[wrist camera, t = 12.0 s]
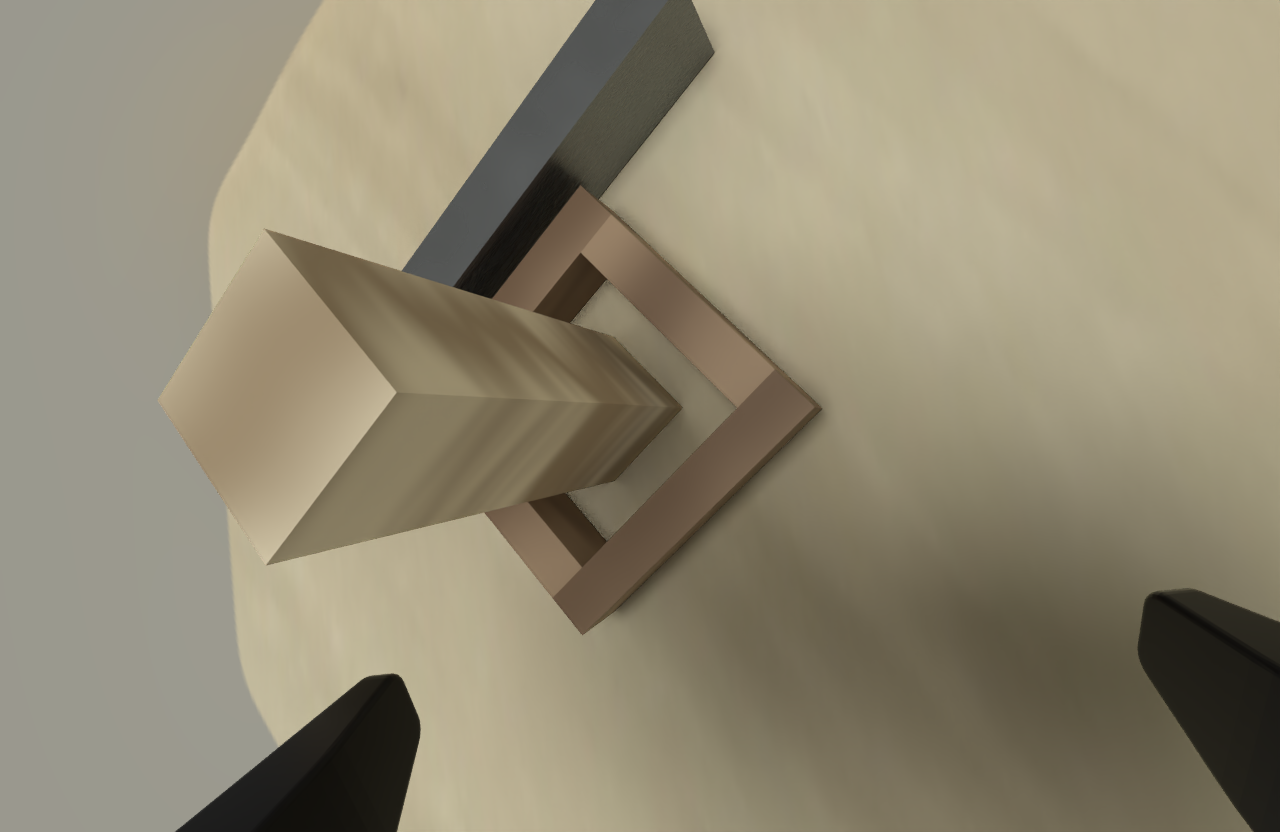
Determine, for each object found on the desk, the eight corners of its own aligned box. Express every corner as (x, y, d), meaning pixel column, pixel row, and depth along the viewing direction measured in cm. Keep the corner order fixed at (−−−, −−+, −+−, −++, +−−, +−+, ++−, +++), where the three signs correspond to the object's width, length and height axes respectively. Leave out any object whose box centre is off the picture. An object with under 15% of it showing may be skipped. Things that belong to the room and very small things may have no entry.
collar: (822, 408, 19) (814, 407, 16) (614, 611, 21) (582, 635, 19) (612, 210, 21) (580, 185, 19) (450, 412, 24) (404, 411, 21)
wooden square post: (682, 407, 20) (396, 392, 8) (614, 480, 21) (265, 565, 9) (612, 336, 21) (264, 228, 9) (550, 409, 22) (157, 400, 10)
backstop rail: (714, 52, 20) (682, -20, 17) (359, 500, 25) (283, 512, 22) (673, 20, 20) (635, -56, 17) (334, 466, 26) (256, 473, 23)
